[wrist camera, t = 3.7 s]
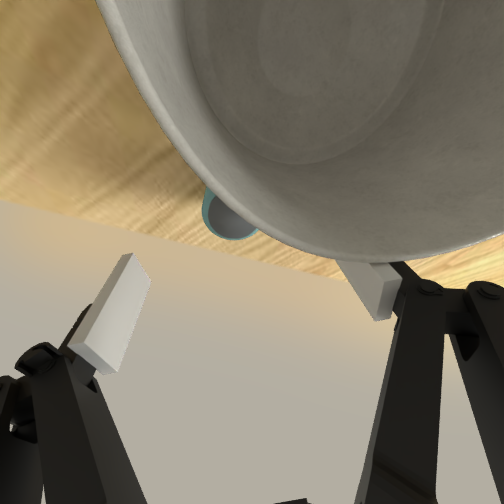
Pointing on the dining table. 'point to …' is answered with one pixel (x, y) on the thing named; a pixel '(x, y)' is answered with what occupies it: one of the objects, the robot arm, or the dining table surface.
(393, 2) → the planter
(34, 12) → the dining table surface
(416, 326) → the robot arm
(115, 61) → the dining table surface
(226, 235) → the teal and grey peg
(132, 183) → the dining table surface
